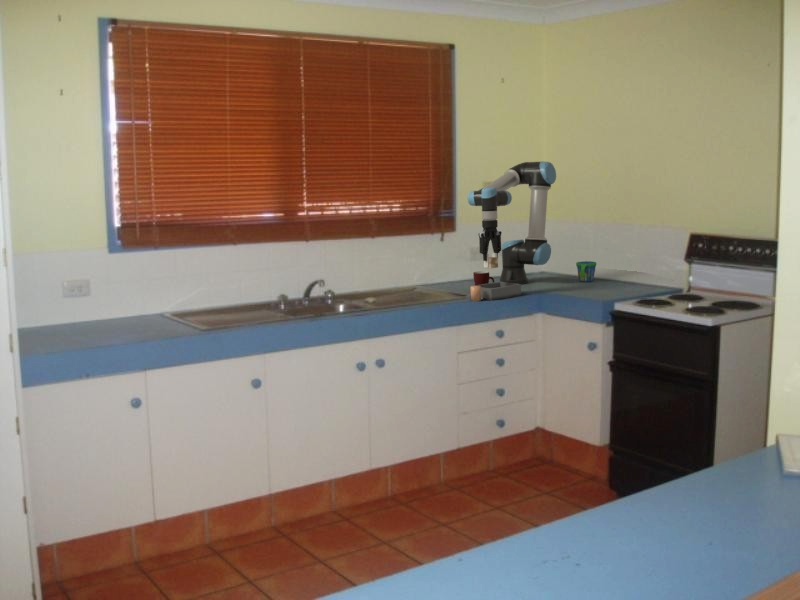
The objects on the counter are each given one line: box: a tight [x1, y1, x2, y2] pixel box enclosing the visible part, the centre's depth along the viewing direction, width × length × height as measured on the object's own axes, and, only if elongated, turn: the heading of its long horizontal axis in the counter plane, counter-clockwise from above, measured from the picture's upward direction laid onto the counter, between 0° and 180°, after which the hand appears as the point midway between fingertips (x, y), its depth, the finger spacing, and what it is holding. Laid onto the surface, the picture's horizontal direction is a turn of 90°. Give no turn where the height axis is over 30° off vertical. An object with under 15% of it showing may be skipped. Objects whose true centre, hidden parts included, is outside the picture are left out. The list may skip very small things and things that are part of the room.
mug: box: [473, 270, 495, 286], centre depth 459 cm, size 11×8×10 cm
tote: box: [469, 281, 522, 301], centre depth 442 cm, size 20×15×6 cm
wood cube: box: [483, 256, 499, 269], centre depth 443 cm, size 5×5×5 cm
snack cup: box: [575, 260, 597, 283], centre depth 479 cm, size 16×10×10 cm
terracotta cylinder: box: [470, 285, 482, 303], centre depth 432 cm, size 5×5×7 cm
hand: (490, 266), depth 443 cm, fingers closed on wood cube, 5 cm apart
